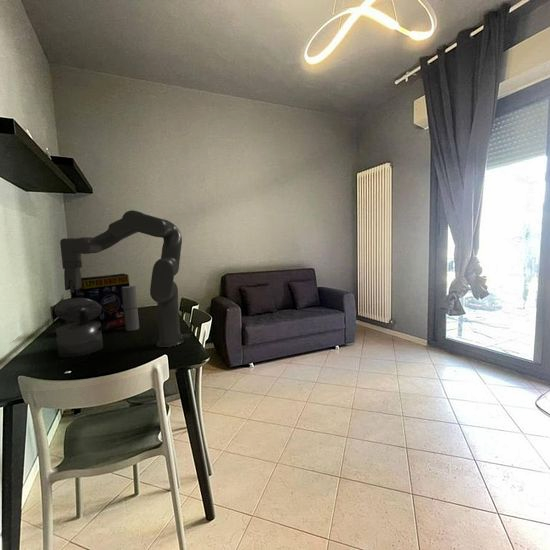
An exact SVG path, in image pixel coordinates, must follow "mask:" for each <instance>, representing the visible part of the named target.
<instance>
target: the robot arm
mask: <svg viewBox="0 0 550 550" xmlns="http://www.w3.org/2000/svg"><path fill="white" fill-rule="evenodd" d="M137 233H140V234H144V235H148V236H151V237H155V238H162V239H163V244H162V248H161V255H160V258H159V259H158V260H156V261H155V262H154V264H153V267H152V272H151V280H150V287H149V294H150V297H151V299H152V300H153V301H154V302H156V304H157V307H156V308H157V321H158V333H159V340H158V341H157V342H156V347H159V348H162V347H168V348H173V347H172V346H174V347H177V346H176V345H178V346H180V345H179V344H181V343H182V344H184V343H185V339H190V338H191V334H190V333H182V332H181V327H180V314H179V289H178V285H177V283H176V282H175V281H174V278H175V276H176V275H177V274H178V273H179V270H180V262H181V261H180V260H181V254H182V253H181V251H182V243H183V241H182V240H183V239H182V238H183V237H182V234H181V233H182V232H181V231H180V229H179V227H177V225H175V224H174V223H173V222H172V221H169V220H168V219H164V218H160V217H158V216H157V217H156V216H152V215H150V214H146V213H143V212H141V211H137V210H133V209H131V210H128V211H125V212H124V213H123V215H122V216H121V218H120V219H117V220H116V221H113V222H111V223H110V224H109V225H108V228H107V230H105V231H103V232H102V233H99V234H98V235H95V236H94V237H78V238H76V237H75V238H73V237H72V238H69V237H68V238H67V237H66V238H62V239H60V242H59V245H60V253H61V254H60V256H61V261H62V262H61V263H62V270H64V275H63V277H64V289H65V291H69V293H70V298H80V292H79V288H81V287H82V280H81V278H82V273H81V269H82V268H83V261H82V254H83V255H87V254H88V255H90V254H98V253H100V252H103V251H104V250H108V249H109V248H111V247H113V246H115V245H116V244H117V243H119V242H120V241H122V240H124V239H126V238H129V237H130V236H133V235H134V234H137ZM183 342H184V343H183ZM182 344H181V345H182Z"/></svg>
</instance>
